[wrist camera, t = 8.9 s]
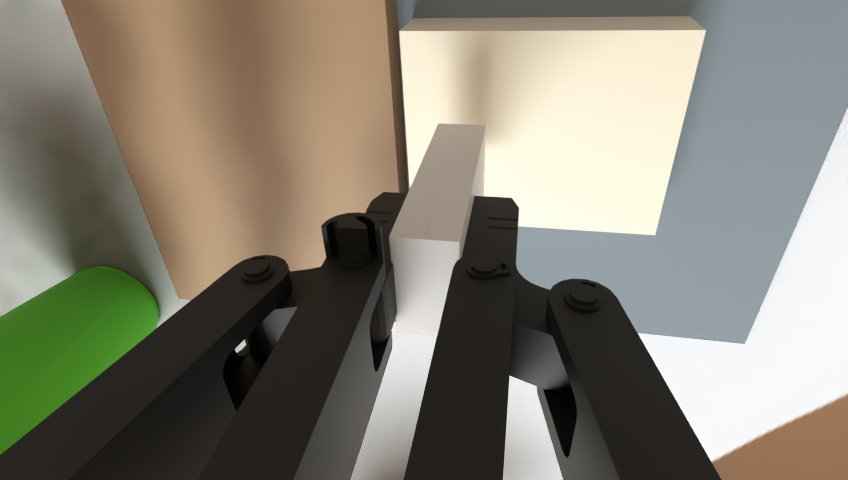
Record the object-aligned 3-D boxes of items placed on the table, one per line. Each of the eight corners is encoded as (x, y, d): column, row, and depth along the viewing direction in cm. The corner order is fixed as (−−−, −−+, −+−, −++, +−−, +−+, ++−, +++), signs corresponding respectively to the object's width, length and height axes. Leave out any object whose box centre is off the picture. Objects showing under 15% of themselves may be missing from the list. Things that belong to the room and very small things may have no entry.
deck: (200, 274, 28) (178, 298, 26) (41, -175, 17) (-11, -181, 16) (417, 295, 26) (408, 323, 24) (388, -202, 15) (369, -213, 13)
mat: (417, 303, 26) (415, 309, 26) (387, -225, 15) (382, -228, 14) (741, 335, 23) (744, 343, 23) (1001, -278, 12) (1017, -284, 12)
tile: (421, 195, 22) (411, 219, 20) (412, 18, 18) (399, 31, 16) (646, 207, 20) (655, 235, 19) (689, 16, 16) (706, 30, 15)
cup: (26, 284, 31) (-181, 442, 22) (81, 205, 27) (-152, 364, 18) (150, 372, 34) (10, 544, 25) (220, 314, 29) (78, 499, 20)
